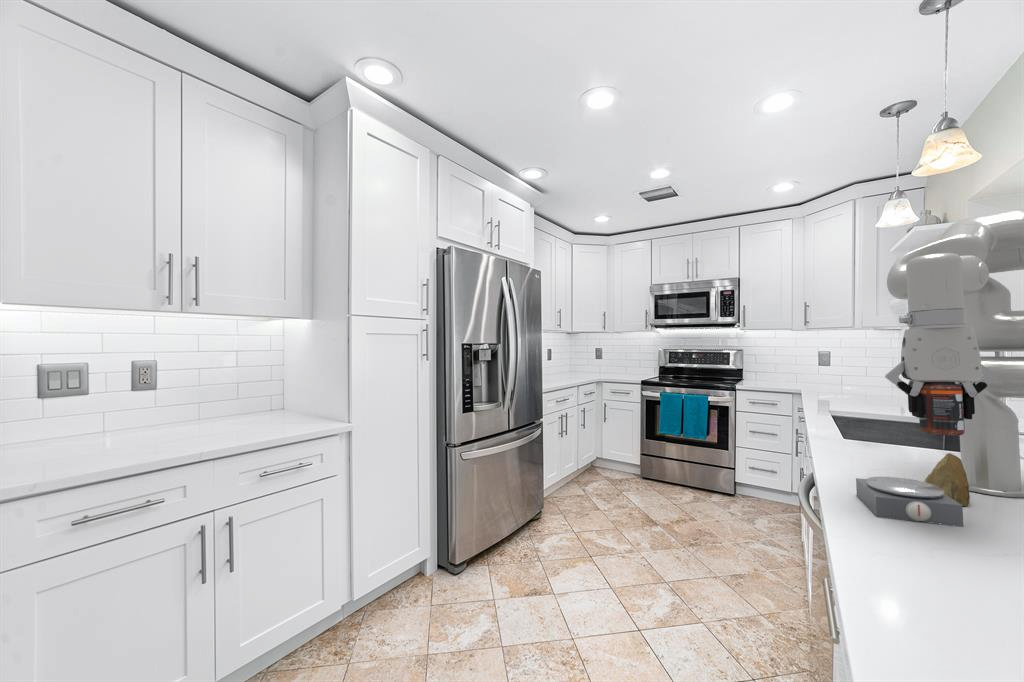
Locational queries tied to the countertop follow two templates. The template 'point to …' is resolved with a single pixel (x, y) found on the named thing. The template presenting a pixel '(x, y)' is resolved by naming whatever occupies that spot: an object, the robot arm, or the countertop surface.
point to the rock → (951, 479)
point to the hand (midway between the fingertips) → (940, 416)
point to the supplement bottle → (942, 409)
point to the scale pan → (905, 487)
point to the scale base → (910, 506)
